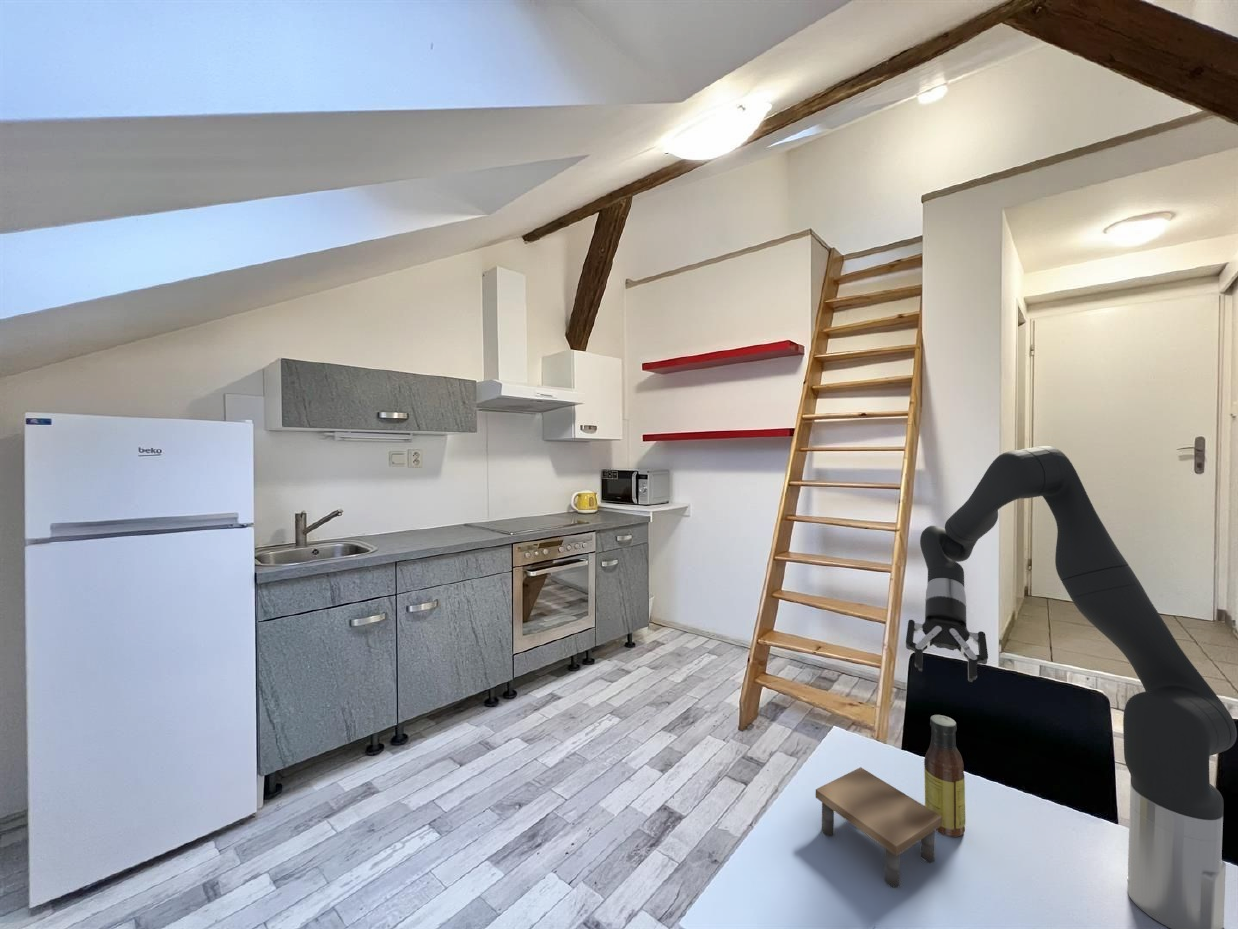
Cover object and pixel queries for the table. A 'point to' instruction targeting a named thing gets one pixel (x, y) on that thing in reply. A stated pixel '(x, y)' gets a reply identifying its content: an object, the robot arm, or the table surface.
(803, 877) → the table surface
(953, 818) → the sauce bottle
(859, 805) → the peg shelf
